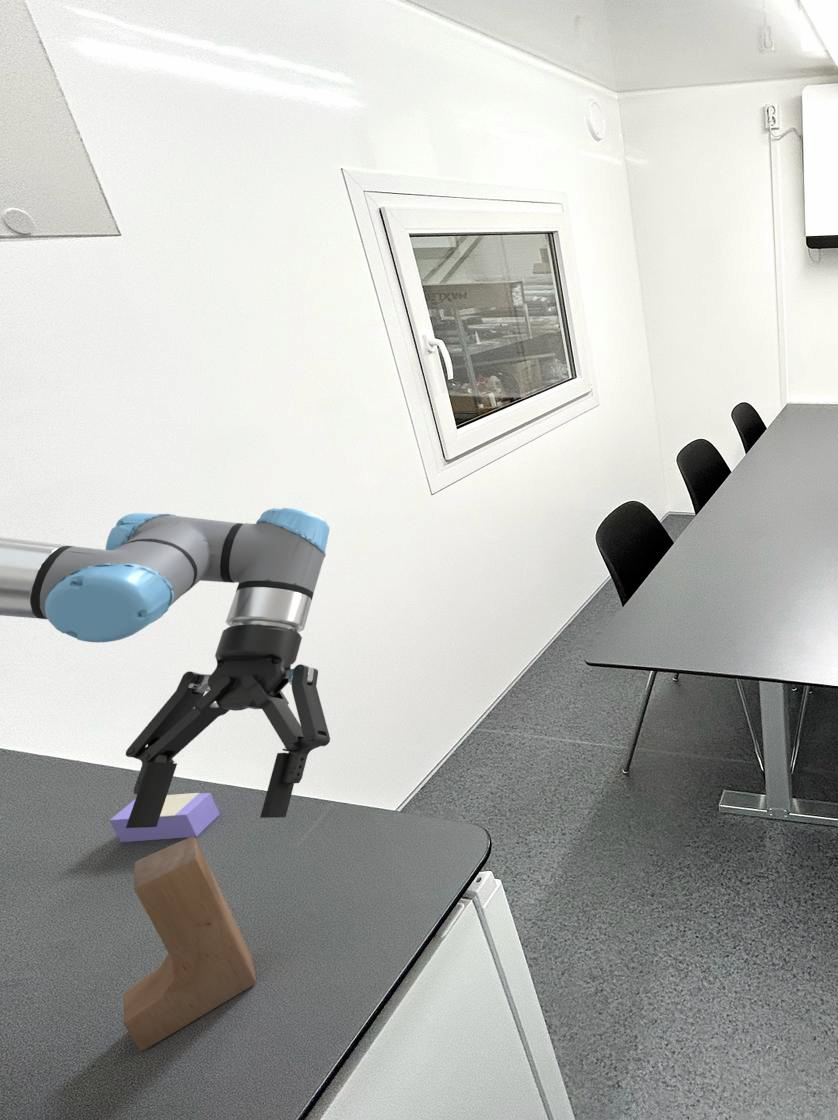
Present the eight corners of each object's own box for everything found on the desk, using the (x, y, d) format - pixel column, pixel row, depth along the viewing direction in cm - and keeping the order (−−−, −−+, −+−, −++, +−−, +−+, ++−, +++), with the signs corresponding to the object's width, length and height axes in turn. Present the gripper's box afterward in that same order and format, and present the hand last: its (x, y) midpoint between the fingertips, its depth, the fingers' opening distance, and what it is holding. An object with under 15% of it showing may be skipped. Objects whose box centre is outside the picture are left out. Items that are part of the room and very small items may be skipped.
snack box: (120, 842, 85) (108, 820, 84) (147, 819, 89) (136, 797, 88) (196, 837, 86) (185, 814, 84) (220, 814, 90) (210, 791, 88)
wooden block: (140, 1054, 61) (60, 923, 55) (139, 1020, 64) (63, 891, 58) (257, 984, 67) (197, 858, 61) (252, 955, 70) (194, 833, 64)
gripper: (387, 632, 80) (348, 813, 71) (184, 644, 79) (119, 830, 70) (350, 615, 73) (303, 813, 64) (128, 628, 72) (47, 832, 63)
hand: (207, 822), depth 67 cm, fingers open, 13 cm apart
